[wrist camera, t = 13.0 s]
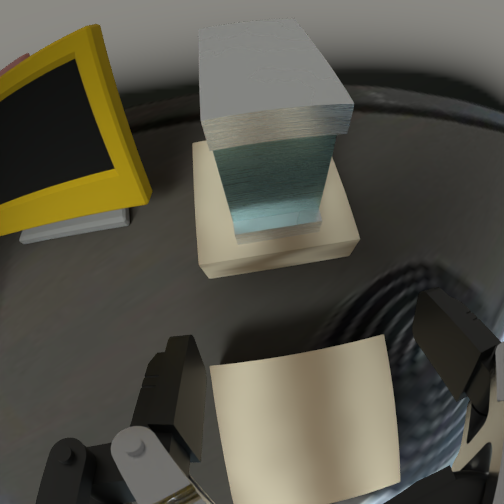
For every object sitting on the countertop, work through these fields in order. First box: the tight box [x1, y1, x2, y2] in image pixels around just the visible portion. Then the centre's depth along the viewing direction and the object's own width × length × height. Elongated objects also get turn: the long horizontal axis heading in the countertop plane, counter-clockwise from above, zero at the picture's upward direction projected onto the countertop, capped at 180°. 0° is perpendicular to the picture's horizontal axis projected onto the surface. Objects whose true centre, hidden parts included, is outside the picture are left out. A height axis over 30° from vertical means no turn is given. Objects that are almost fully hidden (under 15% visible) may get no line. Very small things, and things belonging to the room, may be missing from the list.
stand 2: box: [210, 334, 400, 504], centre depth 14 cm, size 10×10×3 cm
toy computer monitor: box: [0, 24, 153, 244], centre depth 16 cm, size 20×8×16 cm, turn 94°
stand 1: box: [193, 141, 360, 279], centre depth 20 cm, size 10×10×3 cm
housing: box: [198, 18, 354, 245], centre depth 14 cm, size 5×8×10 cm, turn 8°
